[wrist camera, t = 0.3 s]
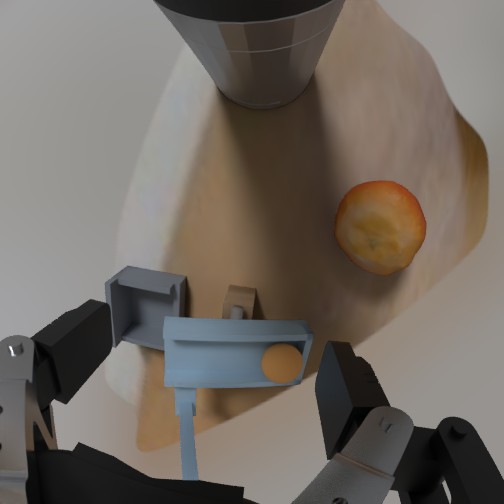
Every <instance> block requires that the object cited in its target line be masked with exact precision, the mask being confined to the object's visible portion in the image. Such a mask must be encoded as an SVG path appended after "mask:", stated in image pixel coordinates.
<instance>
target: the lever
mask: <svg viewBox="0 0 504 504" xmlns="http://www.w3.org/2000/svg"><path fill="white" fill-rule="evenodd" d="M313 338H314V333H313V331H312V330H311V328H310V327H309V325H308V324H307V323H306V321H305V320H237V319H206V318H185V317H168V316H165V319H164V327H163V339H164V347H165V381H164V382H165V386H167V387H175V409H176V415H180V441H181V459H182V475H183V480H199V479H198V470H197V461H196V450H195V440H194V427H193V416H196V388H247V387H270V386H285V385H298V384H300V383H301V380H302V376H303V373H304V370H305V366H306V363H307V359H308V356H309V352H310V349H311V345H312V342H313ZM278 343H287V344H290V345H292V346H294V347H295V348H297V349H298V351H299V352H300V354H301V355H302V359H303V367H302V370H301V373H300V374H299V376H298V377H297V378H296V379H294V380H293V381H291V382H289V383H284V384H279V383H275V382H272V381H270V380H269V379H268V378H267V377H266V376H265V375H264V373H263V371H262V368H261V359H262V356H263V354H264V352H265V351H266V350H267V349H268V348H269V347H271V346H272V345H275V344H278Z"/></svg>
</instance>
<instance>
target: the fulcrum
mask: <svg viewBox="0 0 504 504" xmlns="http://www.w3.org/2000/svg"><path fill="white" fill-rule="evenodd" d="M255 292H256V289H253V288H247V287H240V286H233V285H230V286H229V289H228V292H227V295H226V298H225V300H224V305H223V315H222V319H237V320H252V313H253V306H254V299H255Z"/></svg>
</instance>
